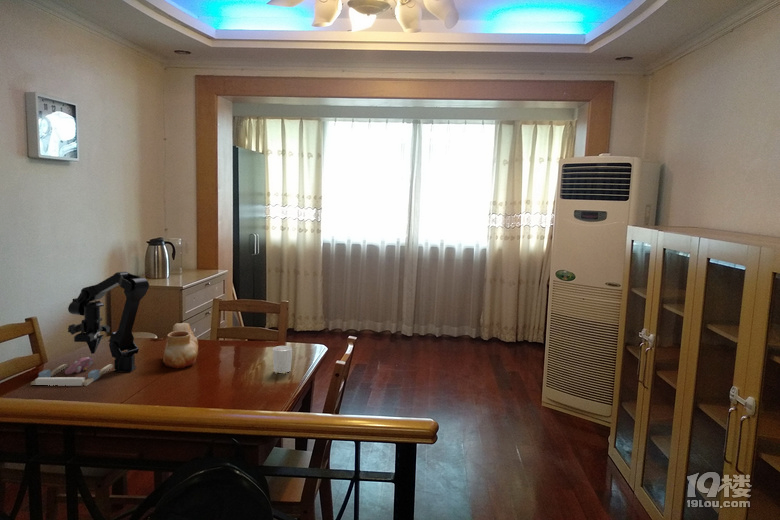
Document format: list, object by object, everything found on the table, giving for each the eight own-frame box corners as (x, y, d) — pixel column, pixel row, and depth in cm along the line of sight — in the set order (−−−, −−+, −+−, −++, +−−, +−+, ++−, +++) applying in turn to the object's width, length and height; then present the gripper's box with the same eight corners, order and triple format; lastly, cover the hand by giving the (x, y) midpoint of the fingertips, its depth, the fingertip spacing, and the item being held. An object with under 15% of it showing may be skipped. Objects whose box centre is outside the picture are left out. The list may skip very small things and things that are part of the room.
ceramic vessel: (199, 351, 237) (199, 319, 235) (197, 368, 212) (197, 333, 211) (167, 353, 232) (166, 321, 231) (161, 370, 207) (160, 334, 206)
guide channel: (113, 367, 209) (113, 360, 209) (87, 385, 187) (87, 377, 187) (62, 367, 207) (62, 359, 207) (30, 385, 185) (29, 377, 185)
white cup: (295, 370, 213) (295, 347, 212) (284, 375, 206) (284, 351, 205) (280, 367, 216) (280, 344, 215) (268, 372, 209) (268, 349, 208)
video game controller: (71, 379, 198) (78, 364, 196) (62, 373, 198) (69, 358, 197) (91, 372, 207) (97, 357, 206) (82, 366, 208) (88, 351, 207)
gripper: (82, 312, 219) (83, 347, 220) (59, 321, 200) (60, 359, 202) (109, 312, 220) (110, 347, 221) (89, 321, 202) (90, 359, 203)
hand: (93, 353), depth 212 cm, fingers closed
